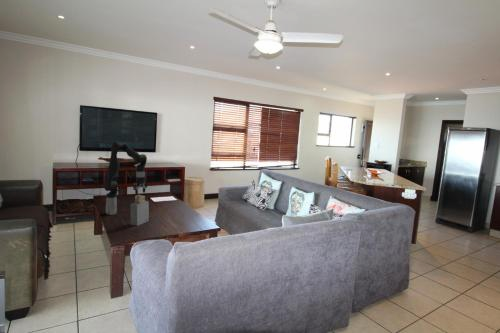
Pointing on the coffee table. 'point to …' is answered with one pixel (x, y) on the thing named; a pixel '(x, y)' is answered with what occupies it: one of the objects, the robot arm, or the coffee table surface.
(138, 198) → the maple cube
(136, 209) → the hard drive box
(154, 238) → the coffee table surface
